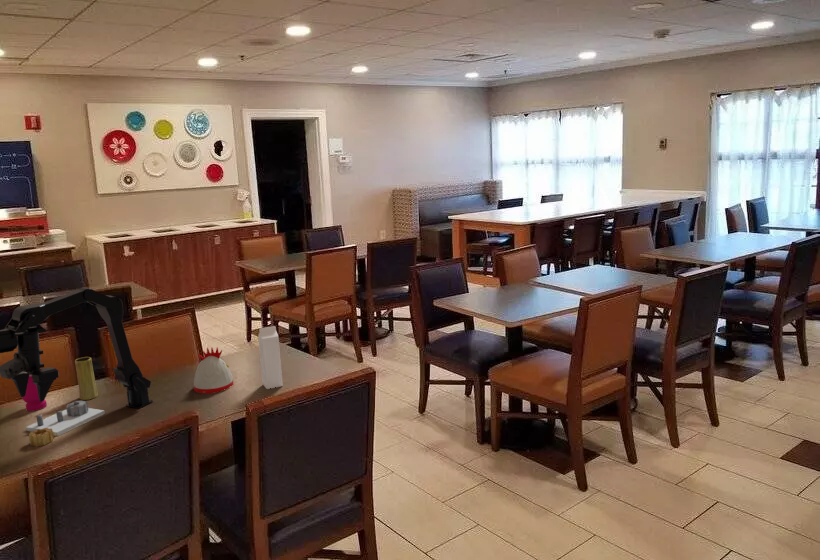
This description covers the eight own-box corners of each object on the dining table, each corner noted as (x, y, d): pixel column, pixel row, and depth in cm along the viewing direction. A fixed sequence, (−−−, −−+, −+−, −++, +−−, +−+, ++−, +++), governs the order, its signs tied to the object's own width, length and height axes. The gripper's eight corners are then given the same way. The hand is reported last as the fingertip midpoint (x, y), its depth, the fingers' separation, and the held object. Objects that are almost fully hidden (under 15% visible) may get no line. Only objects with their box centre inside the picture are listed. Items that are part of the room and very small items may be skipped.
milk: (262, 384, 236) (256, 326, 232) (278, 381, 238) (273, 324, 234) (266, 389, 230) (260, 330, 226) (283, 386, 233) (277, 327, 229)
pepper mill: (24, 413, 219) (14, 357, 215) (25, 406, 225) (15, 351, 221) (48, 408, 222) (39, 353, 218) (48, 402, 228) (39, 348, 224)
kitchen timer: (232, 390, 231) (228, 351, 228) (192, 395, 228) (187, 355, 225) (234, 378, 244) (230, 340, 241) (196, 382, 242) (192, 344, 239)
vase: (90, 400, 228) (84, 362, 225) (75, 400, 229) (69, 361, 226) (101, 394, 234) (96, 356, 231) (87, 393, 235) (81, 356, 232)
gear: (58, 439, 197) (56, 429, 196) (40, 447, 191) (38, 437, 190) (44, 436, 199) (42, 426, 198) (26, 444, 193) (24, 434, 193)
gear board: (105, 413, 215) (102, 399, 214) (57, 436, 199) (55, 420, 198) (75, 409, 220) (72, 394, 219) (26, 430, 204) (23, 415, 203)
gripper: (-18, 350, 189) (-14, 401, 191) (21, 358, 180) (25, 411, 182) (19, 342, 199) (23, 391, 201) (58, 349, 190) (61, 400, 192)
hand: (32, 398), depth 194 cm, fingers open, 9 cm apart
